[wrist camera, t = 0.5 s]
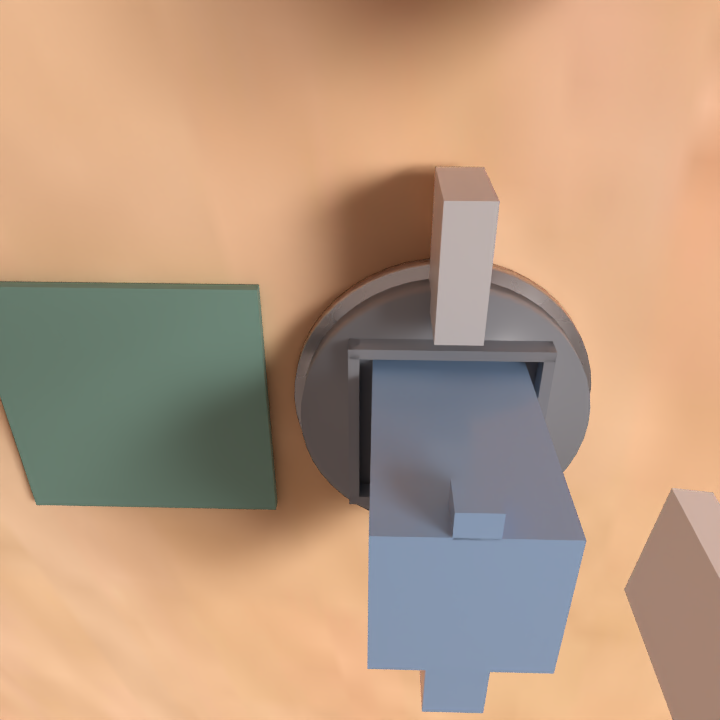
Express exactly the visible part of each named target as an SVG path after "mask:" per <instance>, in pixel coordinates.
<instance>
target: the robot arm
mask: <svg viewBox="0 0 720 720" xmlns="http://www.w3.org/2000/svg"><path fill="white" fill-rule="evenodd" d="M624 590H625V593H626V595H627V598H628V601H629V604H630V606H631V609H632V612H633V614H634V617H635V620H636V622H637V625H638V628H639V630H640V633H641V636H642V638H643V641H644V644H645V646H646V649H647V652H648V655H649V657H650V660H651V663H652V665H653V668H654V671H655V673H656V676H657V679H658V681H659V684H660V687H661V689H662V692H663V695H664V698H665V700H666V703H667V706H668V708H669V711H670V714H671V716H672V719H673V720H720V504H719V502H718V500H717V499H716V497H715V495H714V494H713V493H712V492H703V491H694V490H684V489H675V488H672V489H671V491H670V493H669V495H668V497H667V499H666V502H665V504H664V506H663V508H662V510H661V512H660V514H659V517H658V519H657V521H656V523H655V525H654V527H653V529H652V531H651V534H650V536H649V538H648V540H647V542H646V544H645V546H644V548H643V551H642V553H641V555H640V557H639V559H638V561H637V563H636V566H635V568H634V570H633V572H632V574H631V576H630V578H629V580H628V583H627V585H626V587H625V589H624Z"/></svg>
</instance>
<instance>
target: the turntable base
mask: <svg viewBox="0 0 720 720" xmlns="http://www.w3.org/2000/svg"><path fill="white" fill-rule="evenodd" d="M429 270H430V259H423V260H418V261H412V262H407V263H403V264H400V265H397V266H393V267H390V268H387V269H385V270H382V271H380V272H378V273H376V274H373V275H371V276H369V277H367V278H365V279H364V280H362V281H360V282H359V283H357V284H355V285H354V286H352V287H351V288H349V289H348V290H347V291H346V292H344V293H343V294H342V295H341V296H339V297H338V298H337V299H336V300H335V301H334V302H333V303H332V304H331V305H330V306H329V307H328V308H327V309H326V310H325V311H324V312H323V313H322V315H321V316H320V318H319V319H318V320H317V322H316V323H315V324H314V326H313V327H312V329H311V331H310V333H309V335H308V337H307V339H306V341H305V343H304V346H303V349H302V352H301V355H300V357H299V362H298V367H297V373H296V379H295V405H296V412H297V416H298V419H299V423H300V426H301V429H302V425H301V402H302V396H303V390H304V385H305V379H306V374H307V370H308V367H309V364H310V362H311V359H312V356H313V354H314V353H315V351H316V349H317V347H318V345H319V343H320V342H321V340H322V339H323V338H324V336H325V335H326V334H327V332H328V331H329V330H330V328H331V327H332V326H333V325H334V324H335V323H336V322H337V321H338V320H339V319H340V318H341V317H342V316H343V315H345V314H346V313H347V312H349V311H350V310H351V309H352V308H354V307H355V306H356V305H358V304H359V303H361V302H363V301H364V300H366V299H368V298H370V297H371V296H373V295H375V294H377V293H380V292H382V291H384V290H387V289H389V288H391V287H395V286H398V285H401V284H405V283H408V282H412V281H418V280H424V279H429ZM491 283H493V284H496V285H499V286H502V287H505V288H508V289H511V290H513V291H515V292H517V293H519V294H521V295H523V296H525V297H527V298H528V299H530V300H531V301H533V302H534V303H536V304H537V305H539V306H540V307H542V308H543V309H544V310H545V311H546V312H547V313H548V314H549V315H551V316H552V317H553V318H554V319H555V320H556V322H557V323H558V324H559V325H560V327H561V328H562V329H563V330H564V331H565V333H566V335H567V336H568V338H569V340H570V342H571V343H572V345H573V347H574V349H575V351H576V353H577V355H578V357H579V359H580V362H581V364H582V367H583V369H584V372H585V374H586V377H587V382H588V387H589V392H590V390H591V370H590V365H589V360H588V355H587V352H586V349H585V346H584V344H583V341H582V338H581V336H580V334H579V333H578V331H577V329H576V327H575V325H574V324H573V322H572V320H571V318H570V316H569V315H568V314H567V312H566V311H565V310H564V309H563V307H562V306H561V305H560V304H559V302H558V301H557V300H555V299H554V298H553V297H552V296H551V295H550V294H549V293H548V292H547V291H546V290H545V289H543V288H542V287H540V286H539V285H537V284H536V283H534V282H533V281H531V280H530V279H529V278H527V277H525V276H523V275H520V274H518V273H516V272H514V271H512V270H510V269H507V268H504V267H501V266H498V265H495V264H493V266H492V275H491Z"/></svg>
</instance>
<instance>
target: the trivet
mask: <svg viewBox="0 0 720 720" xmlns="http://www.w3.org/2000/svg"><path fill="white" fill-rule="evenodd" d="M0 397H1V400H2V403H3V406H4V409H5V412H6V415H7V418H8V421H9V424H10V427H11V430H12V433H13V436H14V439H15V442H16V445H17V448H18V451H19V454H20V457H21V460H22V463H23V466H24V469H25V472H26V475H27V478H28V481H29V484H30V487H31V490H32V493H33V496H34V499H35V502H36V505H67V506H118V507H168V508H218V509H268V510H276V507H277V493H276V481H275V469H274V458H273V446H272V434H271V422H270V410H269V399H268V387H267V375H266V363H265V351H264V340H263V328H262V316H261V304H260V292H259V285H245V284H164V283H82V282H1V281H0Z"/></svg>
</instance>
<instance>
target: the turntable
mask: <svg viewBox="0 0 720 720" xmlns="http://www.w3.org/2000/svg"><path fill="white" fill-rule="evenodd" d="M499 203H500V201H499V199H498V197H497V195H496V192H495V190H494V188H493V186H492V184H491V181H490V179H489V177H488V175H487V173H486V171H485V168H484V167H435V185H434V202H433V219H432V236H431V253H430V270H429V279H424V280H418V281H412V282H408V283H405V284H401V285H398V286H395V287H391V288H389V289H387V290H384V291H382V292H380V293H377V294H375V295H373V296H371V297H370V298H368V299H366V300H364V301H363V302H361V303H359V304H358V305H356V306H355V307H354V308H352V309H351V310H350V311H349V312H347V313H346V314H345V315H343V316H342V317H341V318H340V319H339V320H338V321H337V322H336V323H335V324H334V325H333V326H332V327H331V328H330V330H329V331H328V332H327V334H326V335H325V336H324V338H323V339H322V340H321V342H320V343H319V345H318V347H317V349H316V351H315V353H314V354H313V356H312V359H311V362H310V364H309V367H308V370H307V374H306V379H305V385H304V390H303V396H302V402H301V425H302V432H303V437H304V440H305V443H306V446H307V449H308V451H309V453H310V455H311V458H312V460H313V462H314V463H315V465H316V466H317V468H318V469H319V471H320V472H321V474H322V475H323V476H324V477H325V478H326V479H327V480H328V482H329V483H330V484H331V485H332V486H333V487H334V488H336V489H337V490H338V491H339V492H340V493H341V494H343V495H344V496H345V497H347V498H348V499H349V504H357V505H359V506H361V507H363V508H365V509H367V510H369V511H370V464H371V418H372V372H373V360H436V361H503V362H525V363H526V366H527V369H528V372H529V375H530V378H531V381H532V384H533V387H534V390H535V393H536V396H537V398H538V401H539V404H540V407H541V410H542V413H543V416H544V419H545V422H546V425H547V428H548V430H549V433H550V436H551V439H552V442H553V445H554V448H555V451H556V454H557V457H558V460H559V463H560V465H561V468H562V471H563V472H564V471H565V469H566V468H567V467H568V466H569V464H570V463H571V461H572V460H573V458H574V457H575V455H576V454H577V452H578V450H579V447H580V445H581V443H582V441H583V439H584V436H585V432H586V429H587V426H588V421H589V414H590V392H589V387H588V382H587V377H586V374H585V372H584V369H583V367H582V364H581V362H580V359H579V357H578V355H577V353H576V351H575V349H574V347H573V345H572V343H571V342H570V340H569V338H568V336H567V335H566V333H565V331H564V330H563V329H562V328H561V327H560V325H559V324H558V323H557V322H556V320H555V319H554V318H553V317H552V316H551V315H549V314H548V313H547V312H546V311H545V310H544V309H543V308H542V307H540V306H539V305H537V304H536V303H534V302H533V301H531V300H530V299H528V298H527V297H525V296H523V295H521V294H519V293H517V292H515V291H513V290H511V289H508V288H505V287H502V286H499V285H496V284H493V283H491V275H492V266H493V257H494V248H495V239H496V230H497V221H498V212H499Z"/></svg>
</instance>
